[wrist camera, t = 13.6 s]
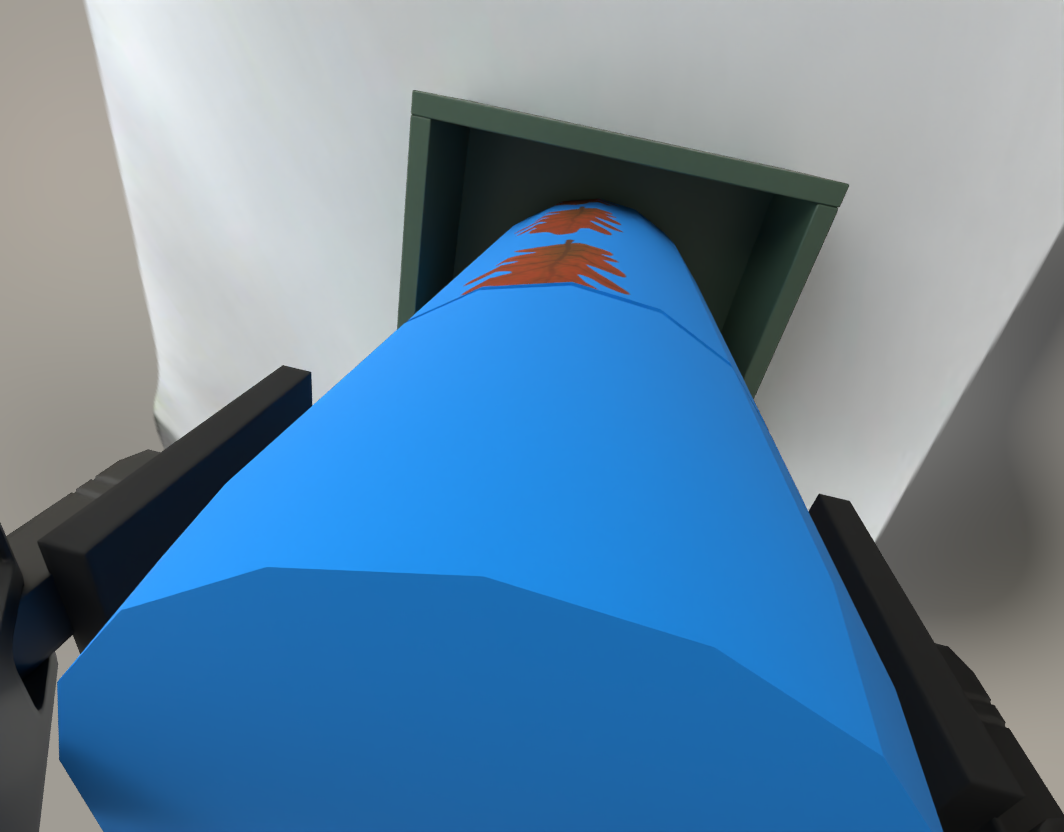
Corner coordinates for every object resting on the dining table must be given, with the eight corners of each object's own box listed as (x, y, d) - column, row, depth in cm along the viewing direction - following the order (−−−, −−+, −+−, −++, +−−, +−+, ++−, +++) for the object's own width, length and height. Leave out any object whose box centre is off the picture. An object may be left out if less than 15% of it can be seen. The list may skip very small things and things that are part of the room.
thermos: (665, 407, 30) (776, 1105, 9) (482, 381, 31) (169, 953, 10) (713, 206, 25) (1298, 695, 3) (491, 181, 26) (-155, 446, 4)
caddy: (460, 98, 25) (412, 89, 19) (795, 171, 25) (850, 184, 19) (430, 393, 33) (388, 451, 27) (683, 454, 33) (697, 526, 27)
